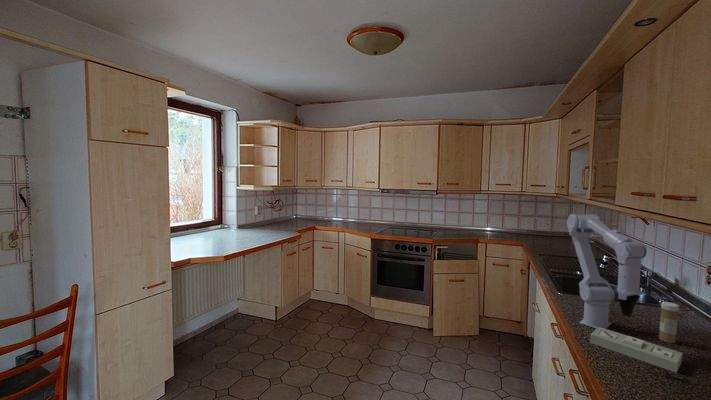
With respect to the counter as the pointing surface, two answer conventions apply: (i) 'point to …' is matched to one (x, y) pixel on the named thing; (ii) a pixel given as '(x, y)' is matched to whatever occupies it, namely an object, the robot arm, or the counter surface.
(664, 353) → the tile two pips
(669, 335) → the sprinkles bottle
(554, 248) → the counter surface
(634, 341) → the tile one pip
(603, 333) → the tile three pips
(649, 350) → the button board
